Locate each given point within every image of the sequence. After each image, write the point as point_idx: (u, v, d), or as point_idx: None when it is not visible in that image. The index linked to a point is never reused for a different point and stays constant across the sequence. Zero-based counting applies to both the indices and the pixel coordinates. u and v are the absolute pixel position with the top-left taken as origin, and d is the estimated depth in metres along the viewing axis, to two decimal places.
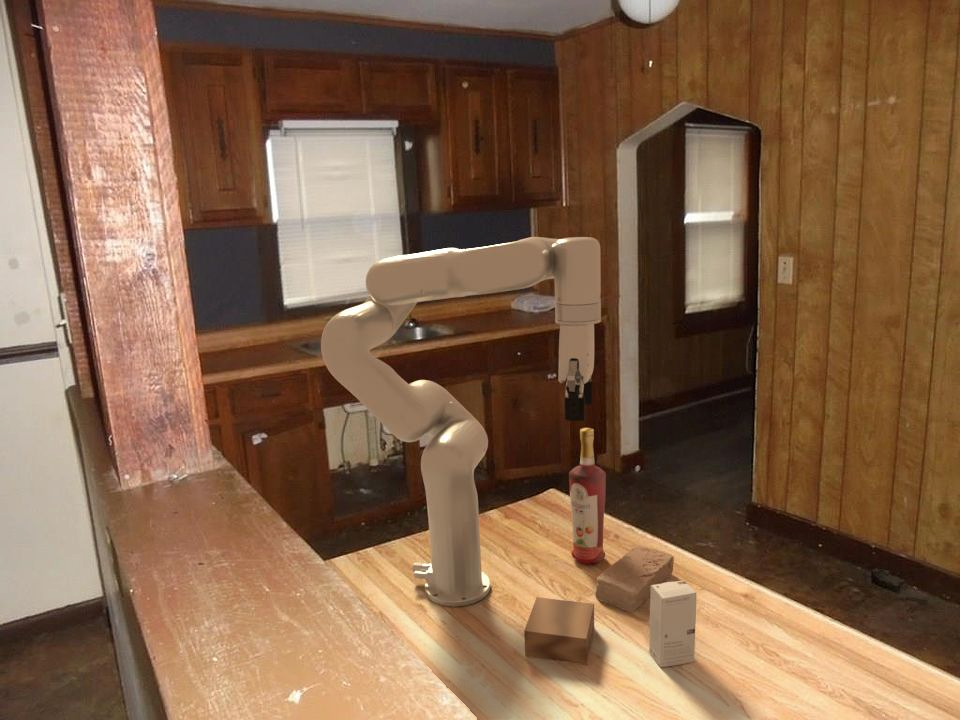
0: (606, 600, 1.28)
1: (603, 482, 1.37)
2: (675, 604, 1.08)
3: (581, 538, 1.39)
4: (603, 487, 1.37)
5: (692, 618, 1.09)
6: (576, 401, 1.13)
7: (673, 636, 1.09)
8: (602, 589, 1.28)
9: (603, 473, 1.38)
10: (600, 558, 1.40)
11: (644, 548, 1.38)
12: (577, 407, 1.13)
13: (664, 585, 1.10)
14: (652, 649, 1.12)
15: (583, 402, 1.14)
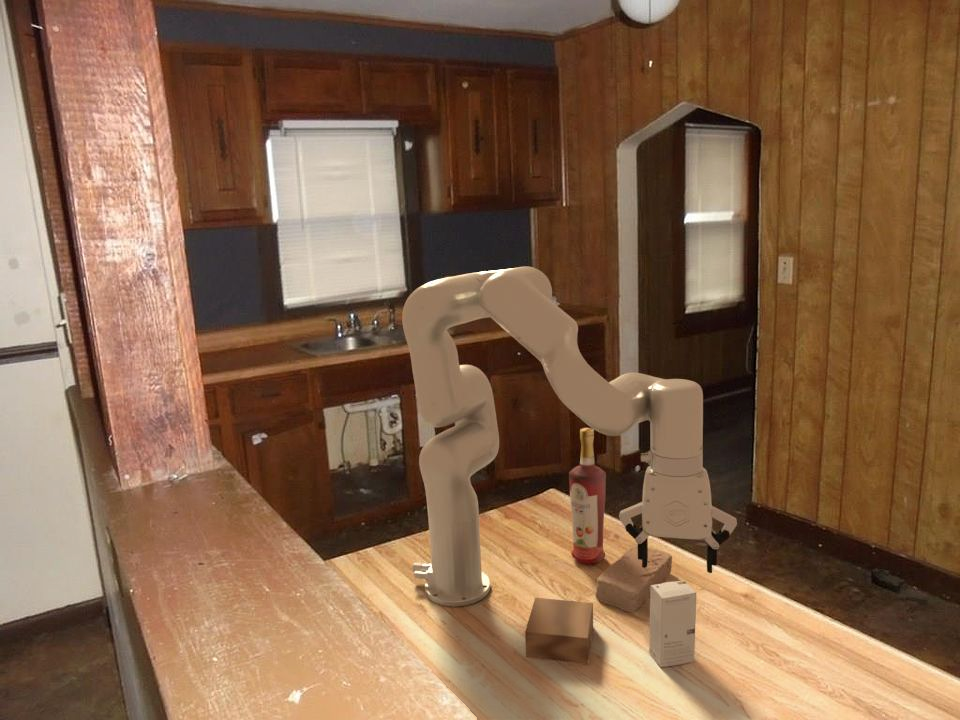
0: (606, 601, 1.28)
1: (603, 482, 1.37)
2: (675, 604, 1.08)
3: (581, 538, 1.39)
4: (603, 487, 1.37)
5: (692, 618, 1.09)
6: None
7: (672, 636, 1.09)
8: (602, 589, 1.28)
9: (603, 473, 1.38)
10: (600, 558, 1.40)
11: None
12: None
13: (664, 585, 1.10)
14: (652, 649, 1.12)
15: None
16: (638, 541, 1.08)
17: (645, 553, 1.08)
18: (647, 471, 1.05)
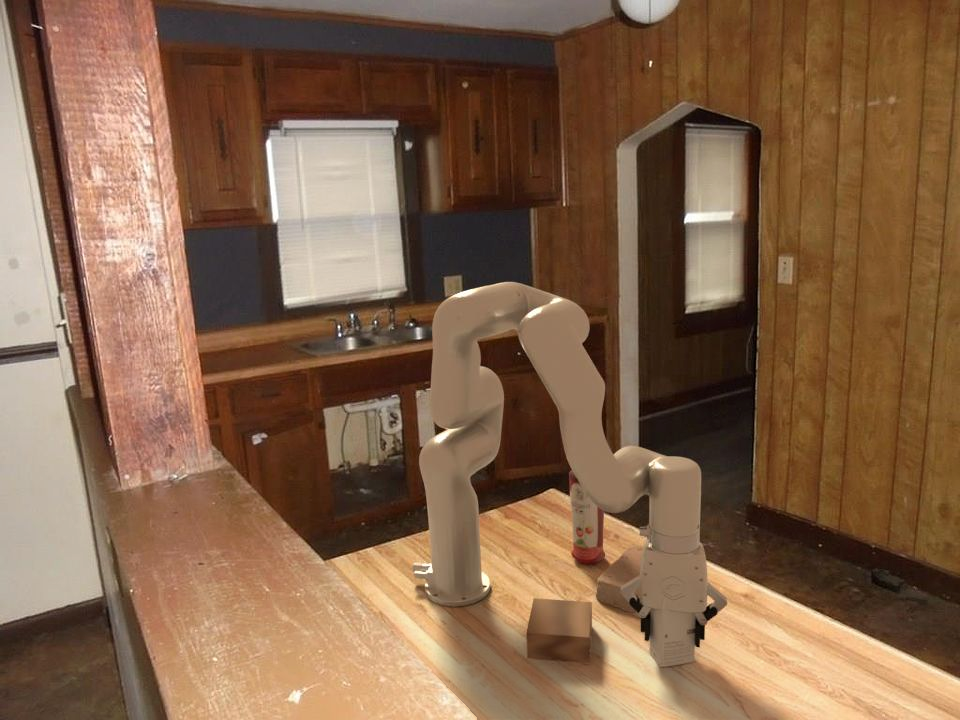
0: (607, 601, 1.27)
1: None
2: None
3: (581, 538, 1.39)
4: None
5: (692, 618, 1.09)
6: None
7: (673, 636, 1.09)
8: (603, 590, 1.27)
9: None
10: (600, 558, 1.40)
11: (640, 547, 1.39)
12: None
13: None
14: (652, 649, 1.12)
15: None
16: (641, 615, 1.11)
17: (648, 627, 1.10)
18: (645, 545, 1.08)
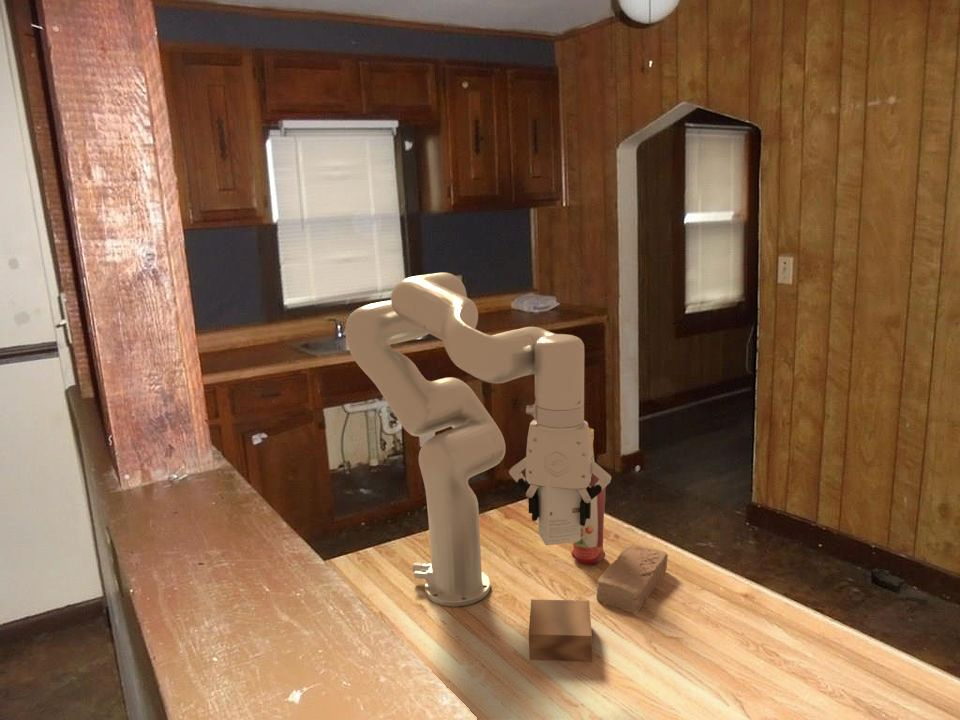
0: (607, 602, 1.27)
1: None
2: None
3: (581, 538, 1.39)
4: None
5: (577, 496, 1.10)
6: (590, 501, 1.11)
7: (558, 514, 1.10)
8: (604, 591, 1.27)
9: None
10: (600, 558, 1.40)
11: (637, 547, 1.39)
12: (590, 506, 1.11)
13: None
14: (540, 529, 1.13)
15: None
16: (528, 495, 1.11)
17: (535, 507, 1.11)
18: (531, 423, 1.09)
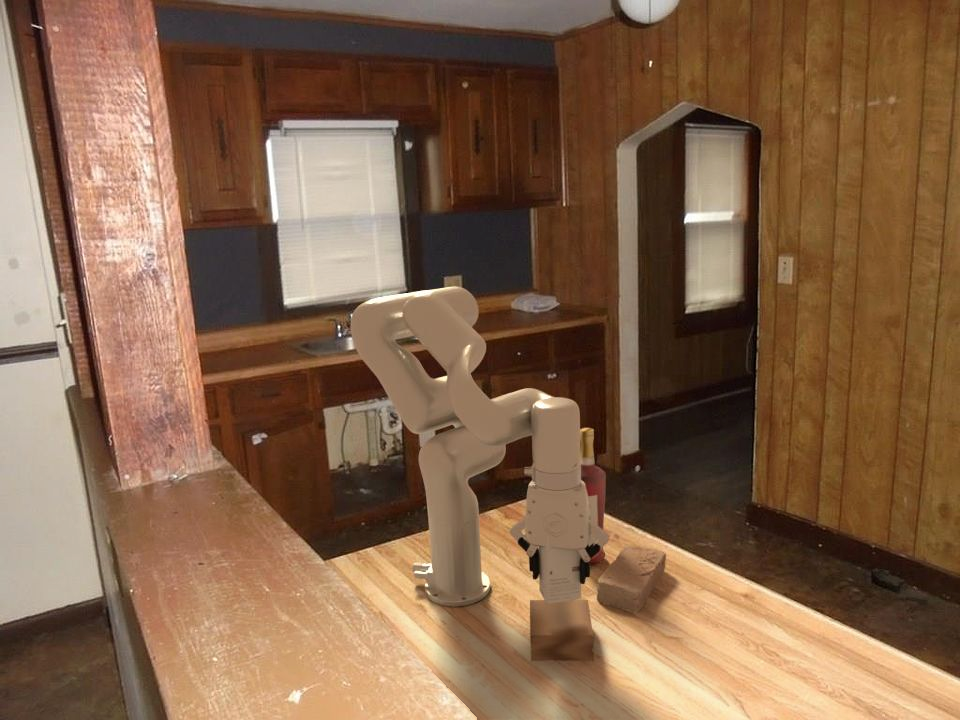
0: (608, 603, 1.27)
1: (603, 482, 1.37)
2: None
3: None
4: (603, 487, 1.37)
5: (577, 555, 1.12)
6: None
7: (558, 573, 1.12)
8: (604, 591, 1.27)
9: (603, 473, 1.38)
10: (600, 558, 1.40)
11: (635, 547, 1.39)
12: None
13: None
14: (541, 587, 1.15)
15: None
16: (529, 554, 1.14)
17: (535, 566, 1.13)
18: (530, 484, 1.11)
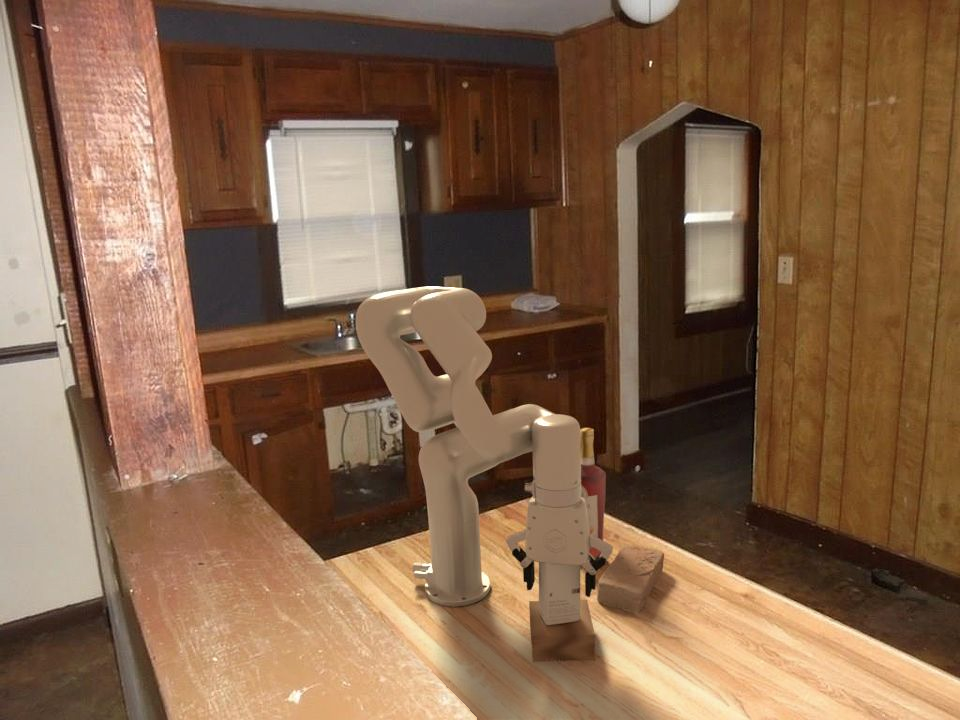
0: (609, 603, 1.27)
1: (603, 482, 1.37)
2: (559, 564, 1.12)
3: None
4: (603, 487, 1.37)
5: (577, 578, 1.13)
6: None
7: (557, 595, 1.13)
8: (605, 592, 1.27)
9: (603, 473, 1.38)
10: None
11: (633, 547, 1.39)
12: (595, 577, 1.13)
13: None
14: (540, 608, 1.16)
15: None
16: (523, 565, 1.14)
17: (529, 577, 1.14)
18: (530, 500, 1.12)
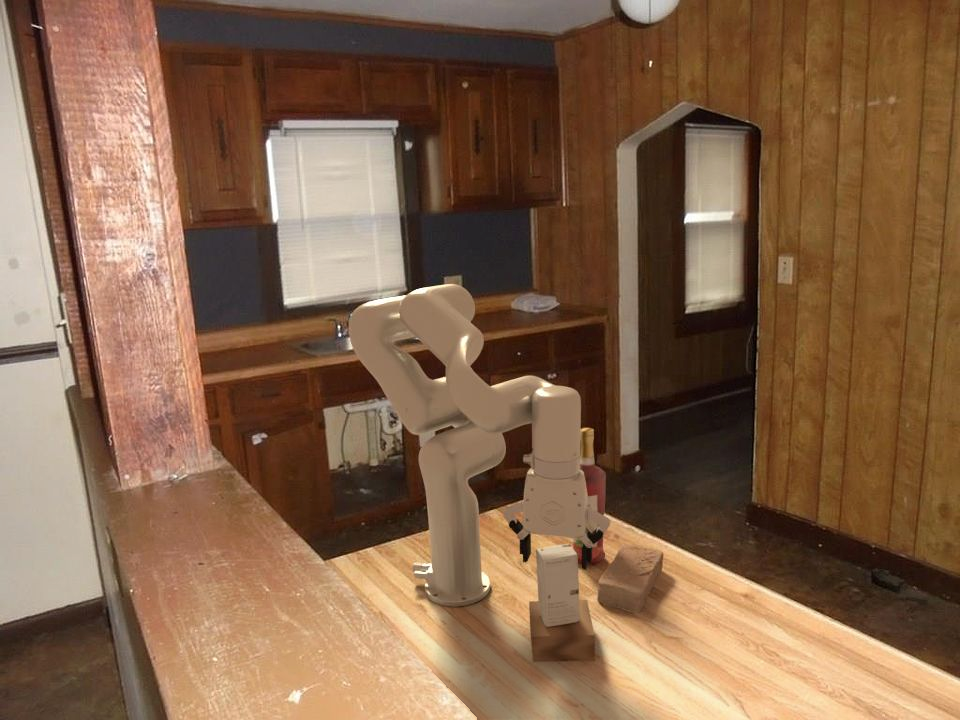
0: (609, 603, 1.27)
1: (603, 482, 1.37)
2: (556, 566, 1.11)
3: None
4: (603, 487, 1.37)
5: (574, 579, 1.13)
6: None
7: (556, 597, 1.12)
8: (605, 592, 1.27)
9: (603, 473, 1.38)
10: (600, 558, 1.40)
11: (632, 547, 1.39)
12: None
13: (548, 548, 1.14)
14: (540, 610, 1.16)
15: None
16: (520, 537, 1.14)
17: (526, 549, 1.14)
18: (529, 472, 1.11)
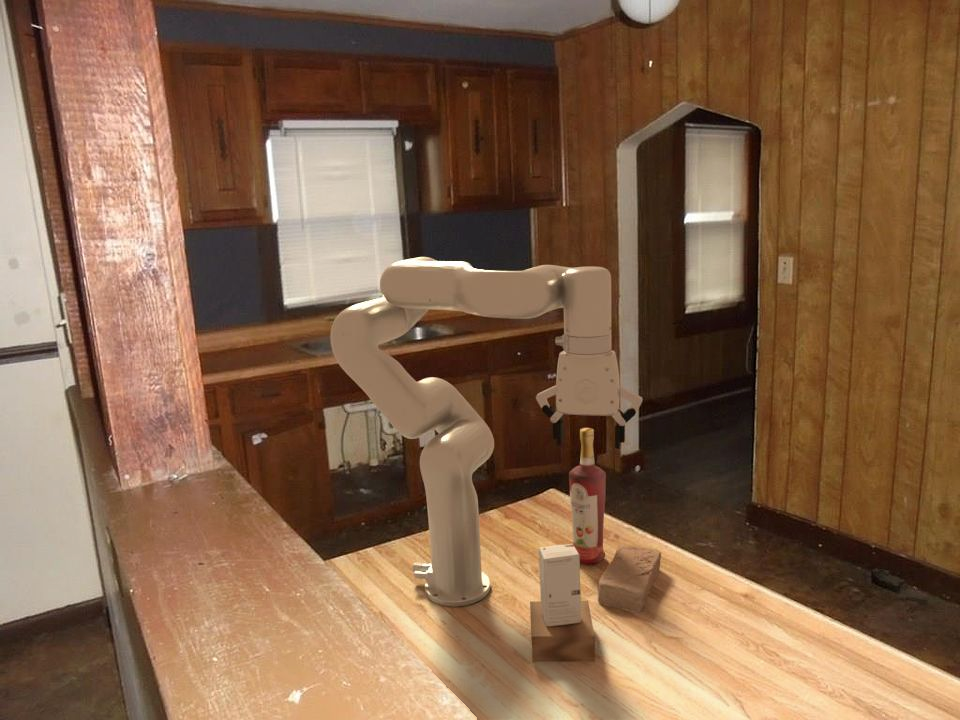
0: (610, 604, 1.27)
1: (603, 482, 1.37)
2: (557, 565, 1.12)
3: (581, 538, 1.39)
4: (603, 487, 1.37)
5: (576, 579, 1.12)
6: (624, 425, 1.14)
7: (557, 597, 1.12)
8: (606, 593, 1.26)
9: (603, 473, 1.38)
10: (600, 558, 1.40)
11: (630, 547, 1.39)
12: (624, 430, 1.15)
13: (551, 547, 1.14)
14: (542, 610, 1.16)
15: None
16: (553, 420, 1.16)
17: (559, 431, 1.16)
18: (561, 353, 1.13)
